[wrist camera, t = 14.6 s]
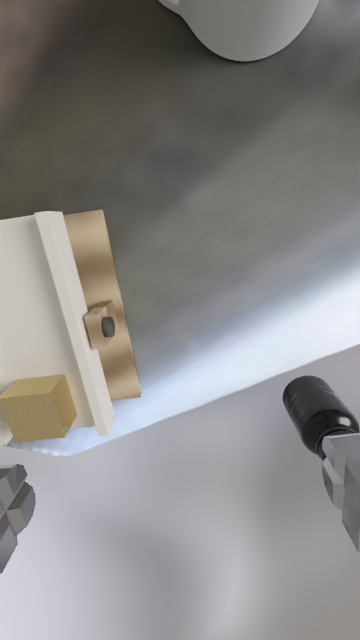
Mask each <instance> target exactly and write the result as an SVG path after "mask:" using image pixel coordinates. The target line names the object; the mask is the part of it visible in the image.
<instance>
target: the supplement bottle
mask: <svg viewBox="0 0 360 640" xmlns="http://www.w3.org/2000/svg"><path fill="white" fill-rule="evenodd" d="M283 402H284V405H285V407H286V410H287V412H288V414H289V416H290V417H291V420H292V422H293V423H294V426H295V427H296V430H297V432H298V434H299V435H300V437H301V439H302V442H303V443H304V445H305V446H306V447H307V448H308V449H309V450H310V451H311V452H313V453H315V454H317V455H319V457H320V458H321V459H322V461H324V460H325V459H326V457H327V456H326V455H325V453H324V451H323V449H322V442H323V439H324V436H334V435H344V434H354V433H360V427H359V424H358V421H357V420H356V418H355V417H354V415H352V413H351V412H350V411H349V409H348V408H347V407H346V406H345V405H344V403H343V402H342V401H341V400H340V399H339V397H338V396H337V395H336V394H335V393H334V391H333V390H332V389H331V388H330V387H329V386H328V384H327V383H325V382H324V381H323V380H322V379H320V378H318V377H315V376H302V377H299V378H296V379H294V380H293V381H291V382H290V383H289V384H288V385H287V387H286V388H285V390H284V393H283Z"/></svg>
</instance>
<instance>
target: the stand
mask: <svg viewBox="0 0 360 640" xmlns="http://www.w3.org/2000/svg"><path fill="white" fill-rule="evenodd" d="M63 217H64V221H65V225H66V229H67V232H68V236H69V240H70V244H71V248H72V252H73V256H74V260H75V264H76V268H77V271H78V275H79V279H80V283H81V287H82V291H83V295H84V299H85V303H86V306H87V310H88V314H87V315H85V316H84V319H85V323H86V326H87V330H88V334H89V338H90V342H91V346H92V350H95V349H98V353H99V357H100V361H101V365H102V369H103V373H104V377H105V380H106V384H107V388H108V392H109V396H110V400H118V399H128V398H137V397H140V396H141V389H140V385H139V380H138V375H137V370H136V366H135V361H134V356H133V351H132V346H131V342H130V337H129V332H128V327H127V323H126V318H125V313H124V308H123V304H122V299H121V294H120V289H119V285H118V280H117V275H116V270H115V266H114V261H113V256H112V251H111V246H110V242H109V237H108V232H107V227H106V223H105V218H104V213H103V210H95V211H88V212H82V213H75V214H69V215H63Z"/></svg>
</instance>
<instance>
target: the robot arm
mask: <svg viewBox="0 0 360 640" xmlns="http://www.w3.org/2000/svg"><path fill="white" fill-rule="evenodd" d="M158 1H159V2H160V3H162V4H163V5H164V6H166V7H167V8H169V9H170V10H172V11H174V12H175V13H177V14H179V15H180V16H181V17H182V18H183V19H184V20H185V21H186V22H187V24H188V25H189V27H190V28H191V30H192V31H193V33H194V34H195V35H196V37H197V38H198V39H199V40H200V41H201V42H202V43H203V44H204V45H205V46H206V47H207V48H209V49H210V50H211V51H213V52H214V53H216V54H218V55H220V56H222V57H224V58H227V59H231V60H235V61H254V60H259V59H263V58H266V57H268V56H271V55H273V54H275V53H277V52H278V51H280V50H281V49H283V48H284V47H286V46H287V45H288V44H289V43H290V42H291V41H293V40H294V39H295V38H296V37H297V36H298V34H299V33H300V32H301V31H302V30H303V28H304V27H305V26H306V24H307V23H308V21H309V20H310V18H311V16H312V15H313V13H314V11H315V9H316V7H317V5H318V3H319V1H320V0H158ZM322 449H323V451H324V453H325V455H326V456H327V457H326V459H325V460H324V461H323V462H322V475H323V479H324V484H325V487H326V490H327V492H328V495H329V497H330V498H331V501H332V503H333V504H334V505H335V506H337V507H338V508H340V509H341V510H342V511H343V513H342V522H343V524H344V526H345V528H346V530H347V532H348V534H349V536H350V538H351V540H352V542H353V544H354V545H355V547H356V549H357V551H358V552H360V433H354V434H344V435H334V436H324V439H323V442H322ZM26 477H27V473H26V471H25V468H24V466H23V465H19V464H15V465H0V574H1V573H2V572H3V570H4V568H5V566H6V564H7V563H8V561H9V559H10V557H11V555H12V553H13V552H14V550H15V548H16V546H17V535H18V534H19V533H20V532H21V531H22V530H23V529H24V528H26V527H27V525H28V523H29V521H30V519H31V517H32V515H33V511H34V507H35V493H34V490H33V488H32V486H30V485H29V484H28V483H26V482H25V479H26Z"/></svg>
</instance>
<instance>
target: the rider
mask: <svg viewBox="0 0 360 640" xmlns="http://www.w3.org/2000/svg"><path fill="white" fill-rule="evenodd" d="M0 406H1V409H2V411H3V414H4V416H5V418H6V421H7V423H8V426H9V428H10V431H11V433H12V435H13V438H14V440H15V442H23V441H33V440H43V439H53V438H64V437H65V436H66V434H67V432H68V431H69V429H70V427H71V425H72V424H73V422H74V420H75V418H76V417H77V412H76V409H75V406H74V403H73V399H72V396H71V393H70V390H69V386H68V383H67V380H66V377H65V374H61V375H52V376H43V377H35V378H26V379H18V380H17V381H16V382H15V383H13V384H12V385H11V386H10V387H9V388H8V389H7V390H6V391H5V392H4V393H3V394H2V395H1V396H0Z"/></svg>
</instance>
